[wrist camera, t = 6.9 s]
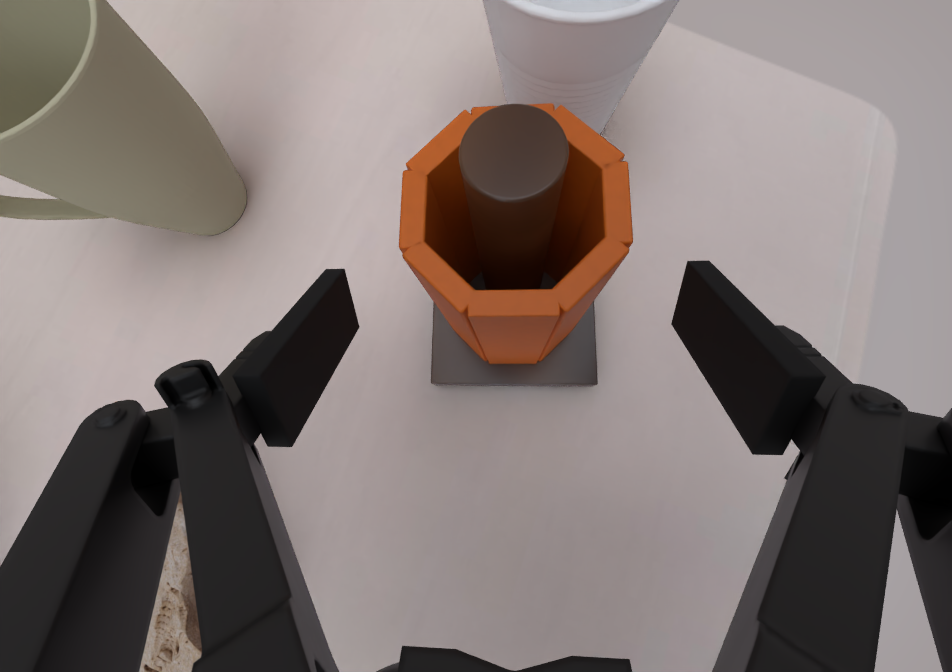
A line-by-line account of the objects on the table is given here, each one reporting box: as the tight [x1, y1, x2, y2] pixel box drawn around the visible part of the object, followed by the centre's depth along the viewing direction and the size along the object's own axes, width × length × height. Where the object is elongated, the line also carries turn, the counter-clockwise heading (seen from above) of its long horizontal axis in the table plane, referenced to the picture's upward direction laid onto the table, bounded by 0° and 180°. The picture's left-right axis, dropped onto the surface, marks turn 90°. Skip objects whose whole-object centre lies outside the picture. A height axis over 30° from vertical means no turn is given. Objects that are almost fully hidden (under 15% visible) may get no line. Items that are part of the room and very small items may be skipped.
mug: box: [0, 0, 247, 236], centre depth 21 cm, size 11×10×12 cm
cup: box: [483, 0, 679, 135], centre depth 21 cm, size 10×10×11 cm
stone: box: [139, 491, 202, 672], centre depth 20 cm, size 9×11×5 cm
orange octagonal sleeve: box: [399, 103, 633, 364], centre depth 17 cm, size 7×7×11 cm
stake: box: [431, 104, 597, 386], centre depth 17 cm, size 9×9×15 cm
